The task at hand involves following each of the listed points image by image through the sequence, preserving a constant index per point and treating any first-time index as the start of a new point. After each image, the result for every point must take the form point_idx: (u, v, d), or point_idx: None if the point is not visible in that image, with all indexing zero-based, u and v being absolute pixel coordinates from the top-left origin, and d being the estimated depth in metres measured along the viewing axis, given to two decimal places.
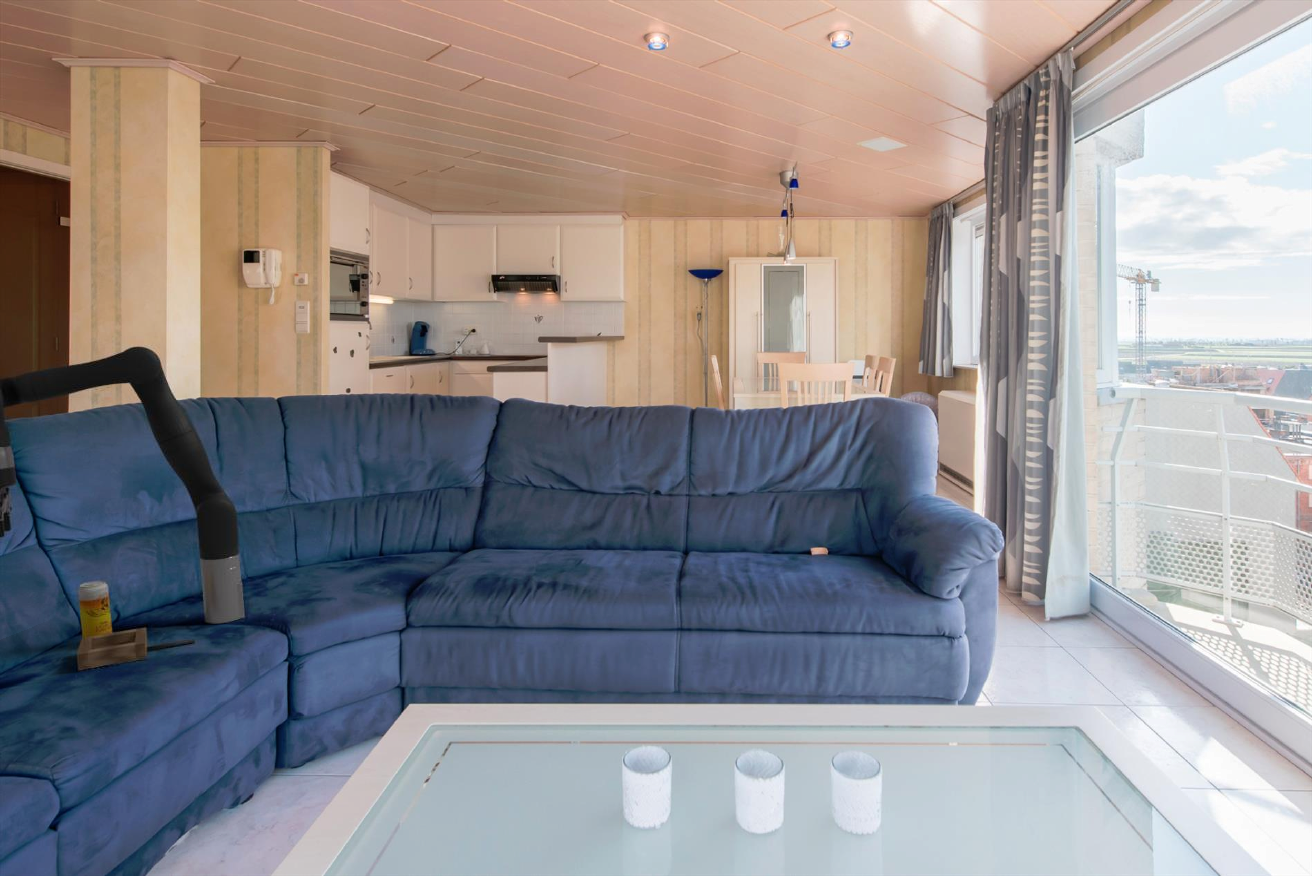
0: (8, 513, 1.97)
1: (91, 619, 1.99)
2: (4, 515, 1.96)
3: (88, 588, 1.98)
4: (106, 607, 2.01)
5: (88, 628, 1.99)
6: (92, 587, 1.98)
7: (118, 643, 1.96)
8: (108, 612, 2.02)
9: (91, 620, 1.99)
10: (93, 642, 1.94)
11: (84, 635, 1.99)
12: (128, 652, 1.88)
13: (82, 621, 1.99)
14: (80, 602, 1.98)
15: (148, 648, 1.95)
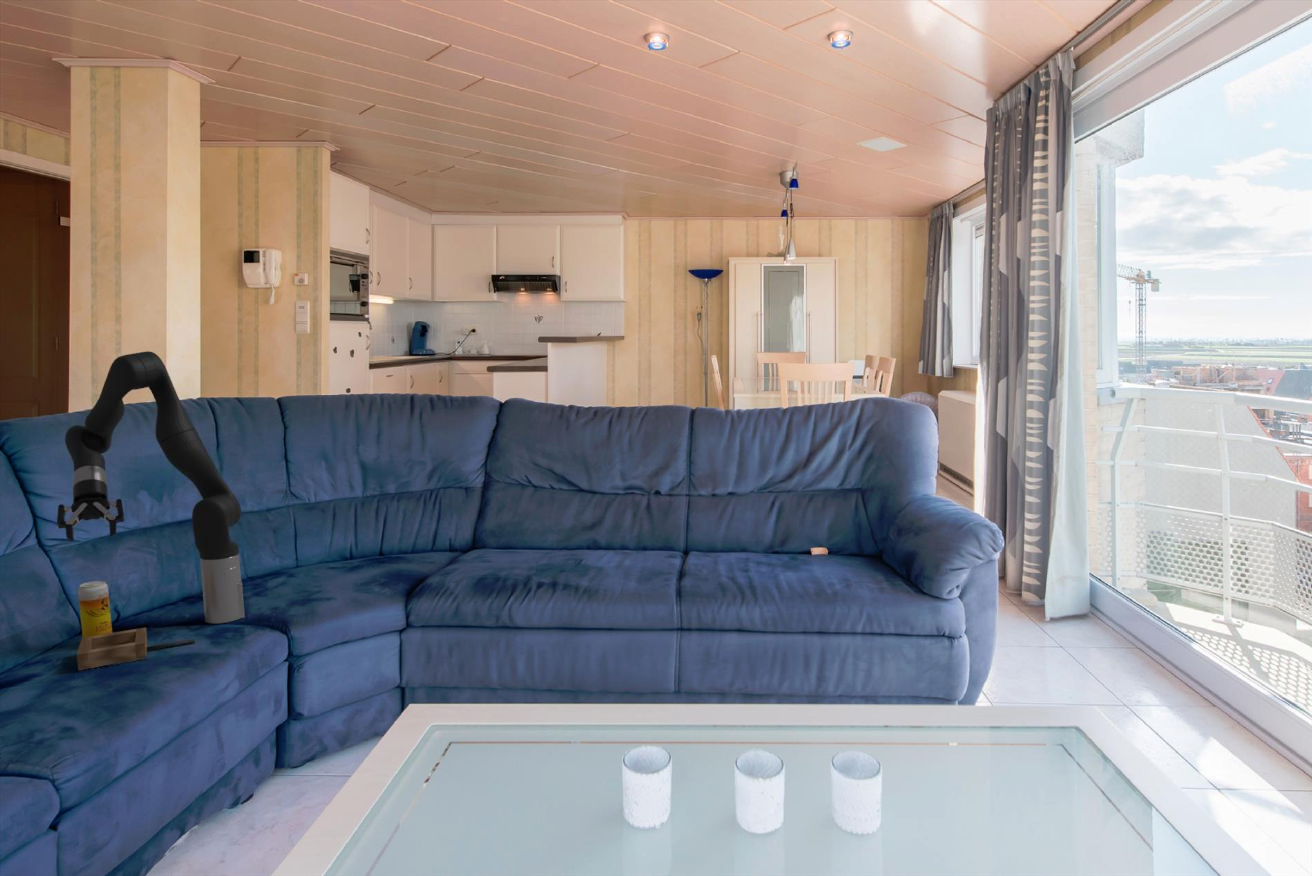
0: (110, 519, 2.13)
1: (91, 619, 1.99)
2: None
3: (88, 588, 1.98)
4: (106, 607, 2.01)
5: (88, 628, 1.99)
6: (92, 587, 1.98)
7: (118, 643, 1.96)
8: (108, 612, 2.02)
9: (91, 620, 1.99)
10: (93, 642, 1.94)
11: (84, 635, 1.99)
12: (128, 652, 1.88)
13: (82, 621, 1.99)
14: (80, 602, 1.98)
15: (148, 648, 1.95)
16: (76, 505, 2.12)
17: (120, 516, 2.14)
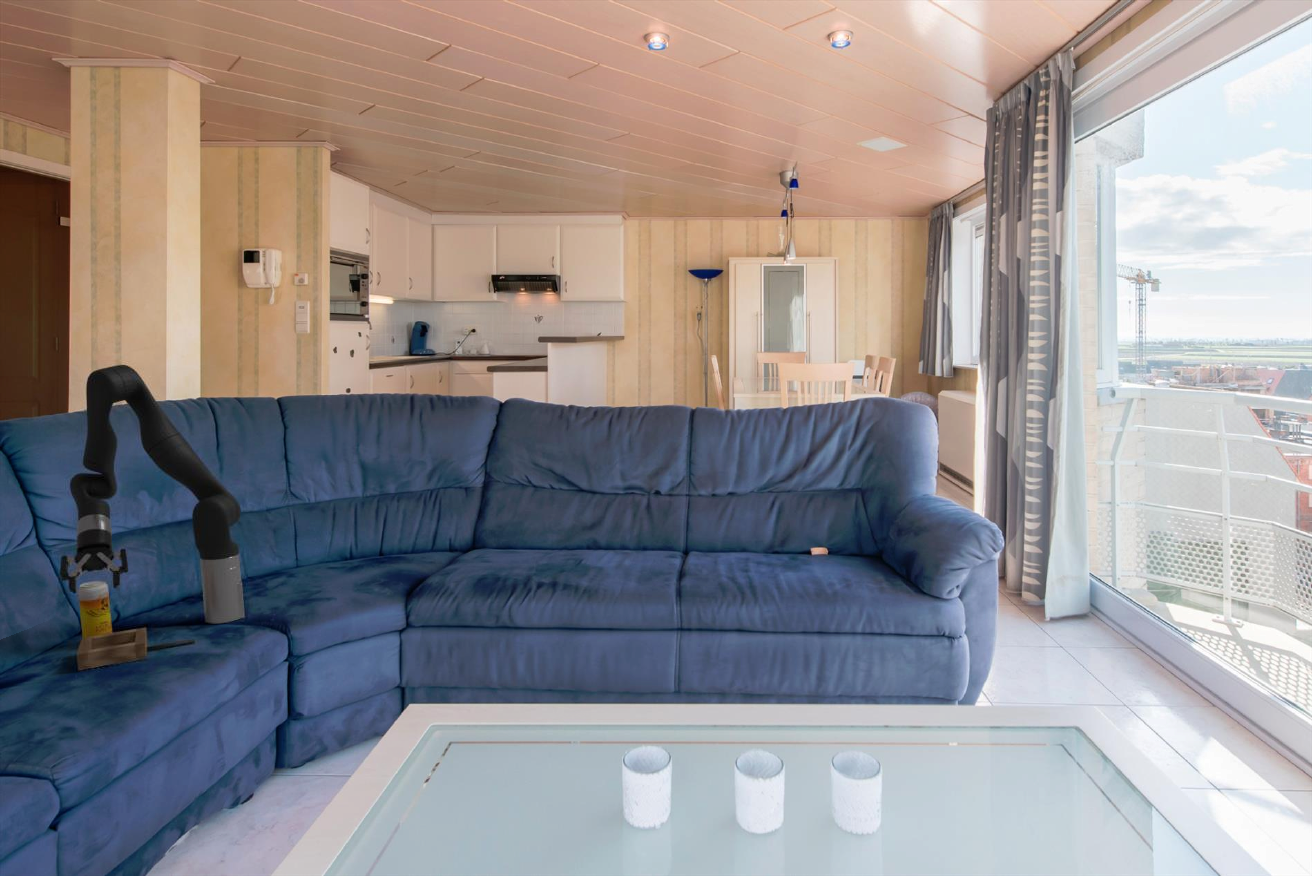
0: (114, 570, 2.09)
1: (91, 619, 1.99)
2: None
3: (88, 588, 1.98)
4: (106, 607, 2.01)
5: (88, 628, 1.99)
6: (92, 587, 1.98)
7: (118, 643, 1.96)
8: (108, 612, 2.02)
9: (91, 620, 1.99)
10: (93, 642, 1.94)
11: (84, 635, 1.99)
12: (128, 652, 1.88)
13: (82, 621, 1.99)
14: (80, 602, 1.98)
15: (148, 648, 1.95)
16: (79, 556, 2.08)
17: (124, 567, 2.10)
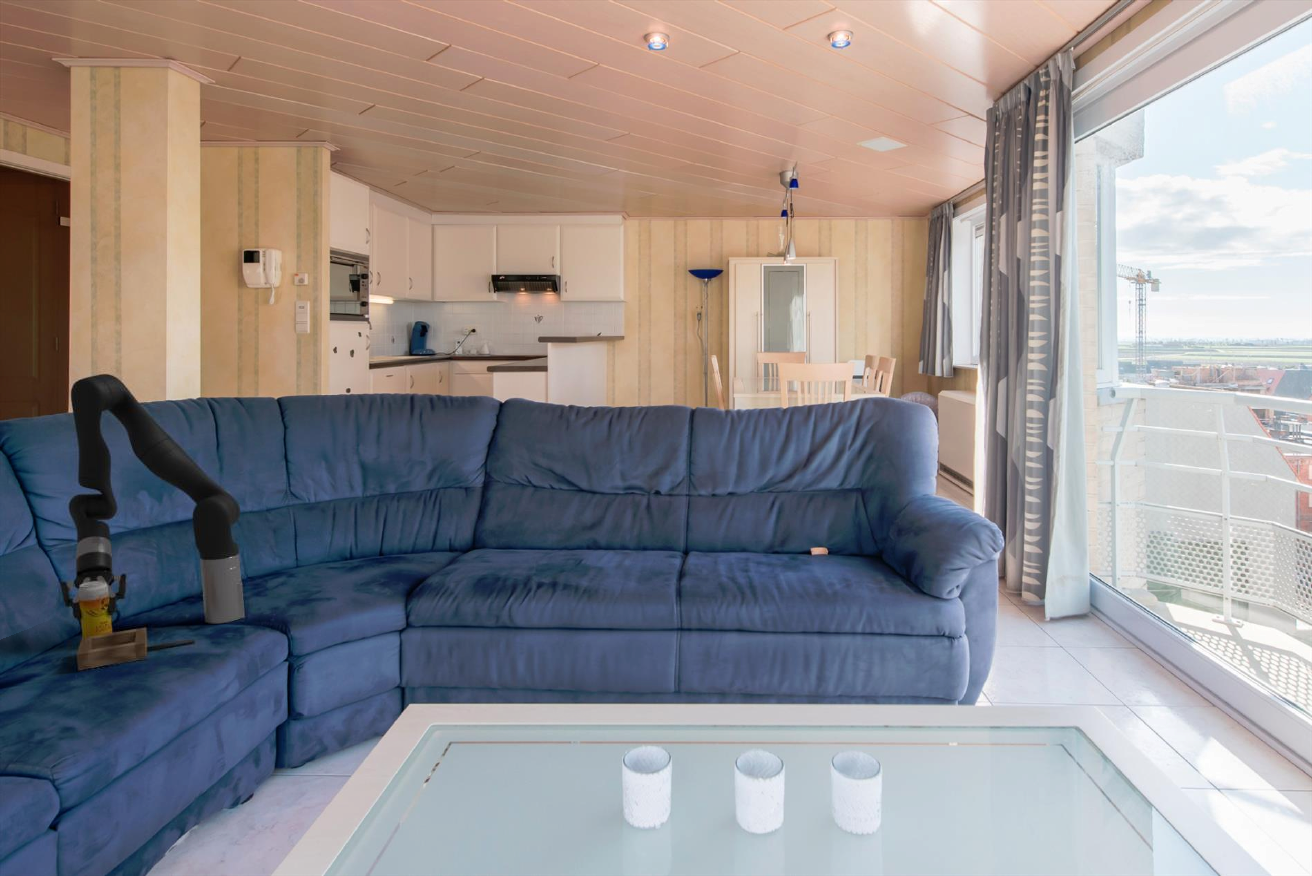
0: (110, 596, 2.03)
1: (91, 619, 1.99)
2: None
3: (88, 588, 1.98)
4: (106, 607, 2.01)
5: (88, 628, 1.99)
6: (92, 587, 1.98)
7: (118, 643, 1.96)
8: (108, 612, 2.02)
9: (91, 620, 1.99)
10: (93, 642, 1.94)
11: (84, 635, 1.99)
12: (128, 652, 1.88)
13: (82, 621, 1.99)
14: (80, 602, 1.98)
15: (148, 648, 1.95)
16: (79, 580, 2.03)
17: (120, 593, 2.04)
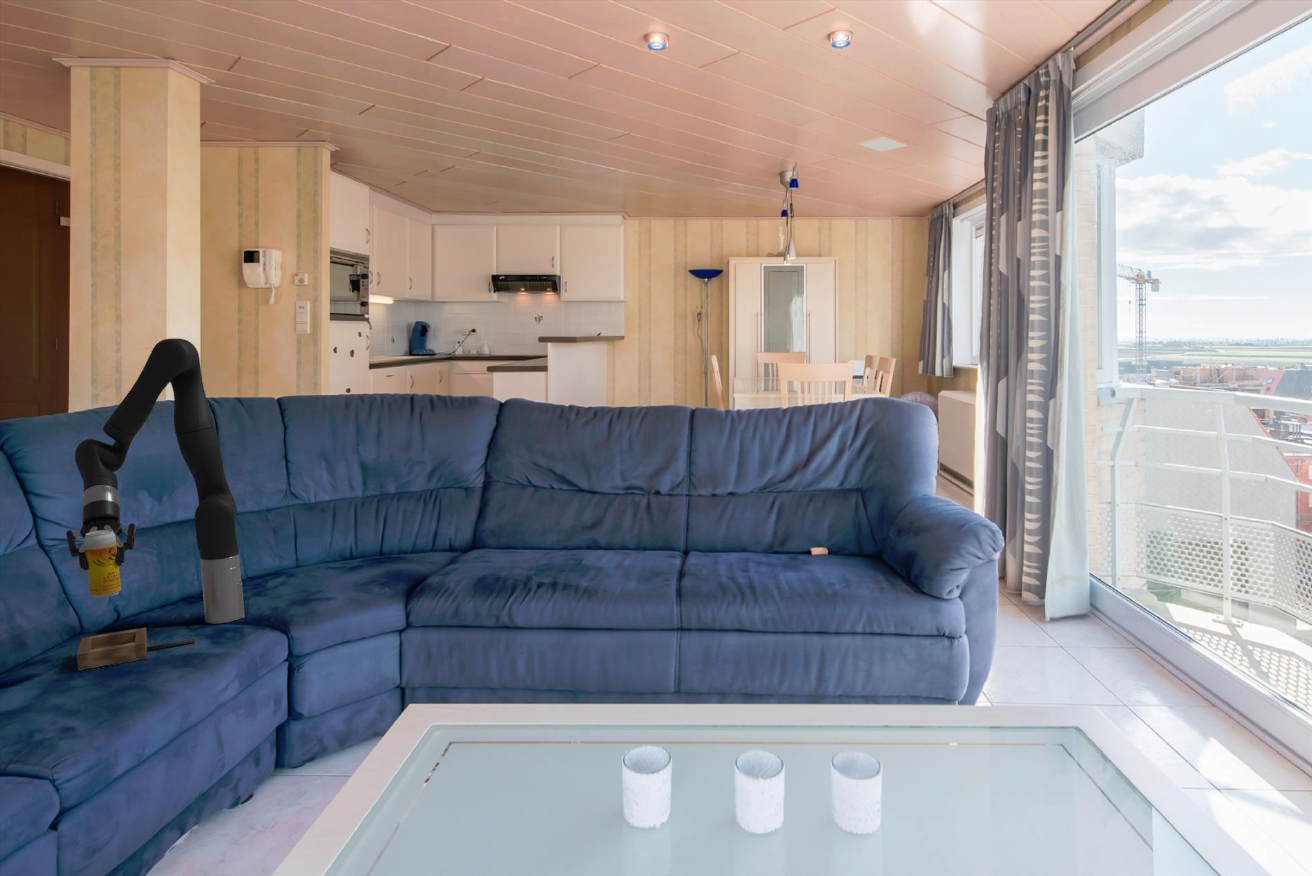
0: (117, 546, 1.93)
1: (98, 569, 1.89)
2: None
3: (94, 536, 1.88)
4: (114, 557, 1.91)
5: (95, 579, 1.89)
6: (99, 535, 1.89)
7: (118, 643, 1.96)
8: (116, 562, 1.92)
9: (98, 570, 1.89)
10: (93, 642, 1.94)
11: (91, 586, 1.89)
12: (128, 652, 1.88)
13: (89, 571, 1.89)
14: (87, 551, 1.89)
15: (148, 648, 1.95)
16: (85, 529, 1.93)
17: (128, 543, 1.95)
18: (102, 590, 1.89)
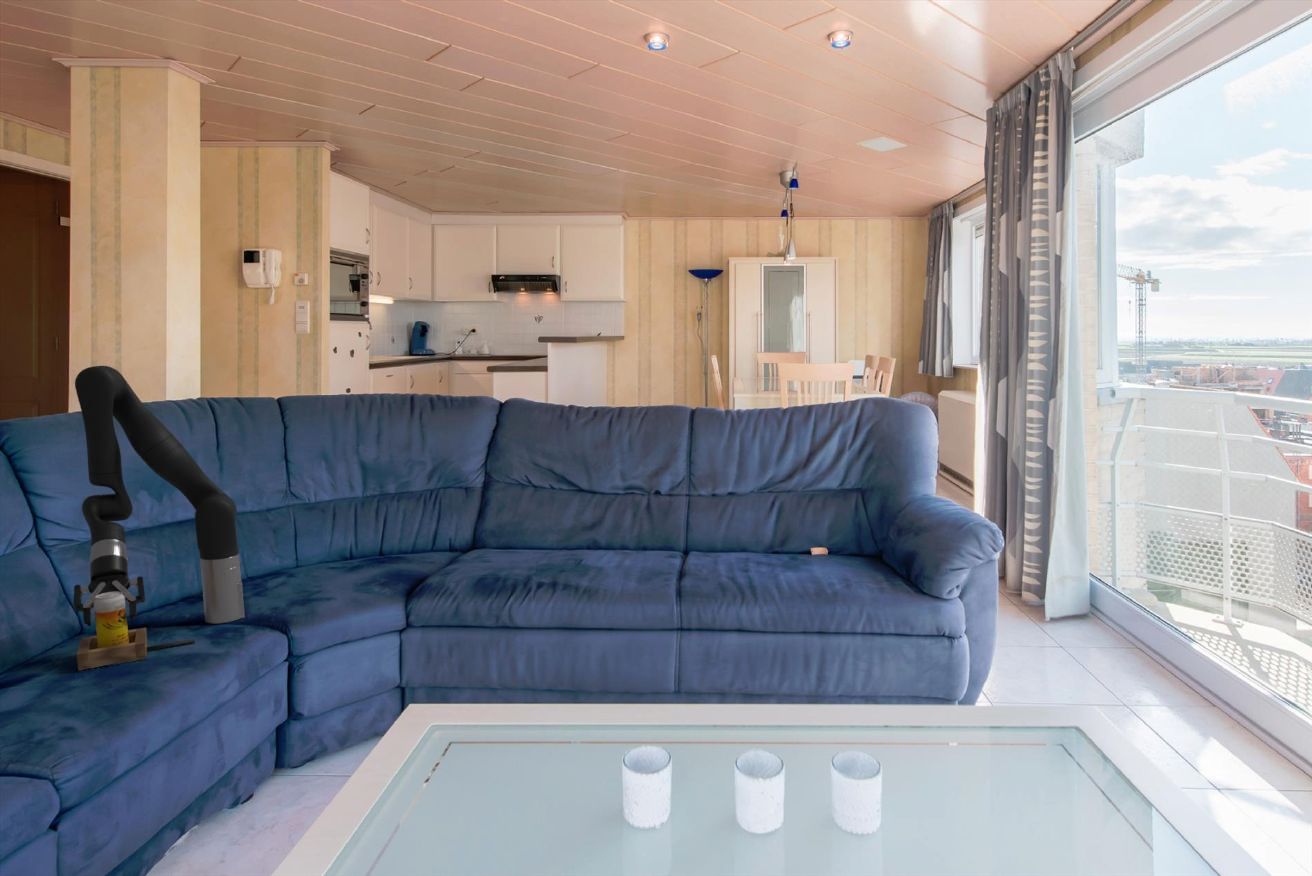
0: (130, 600, 1.94)
1: (108, 632, 1.89)
2: None
3: (104, 599, 1.88)
4: (123, 619, 1.91)
5: (104, 642, 1.89)
6: (108, 598, 1.89)
7: None
8: (125, 624, 1.92)
9: (107, 633, 1.89)
10: (93, 642, 1.94)
11: None
12: (128, 652, 1.88)
13: (98, 634, 1.89)
14: (96, 614, 1.88)
15: (148, 648, 1.95)
16: (93, 585, 1.93)
17: (141, 596, 1.95)
18: None
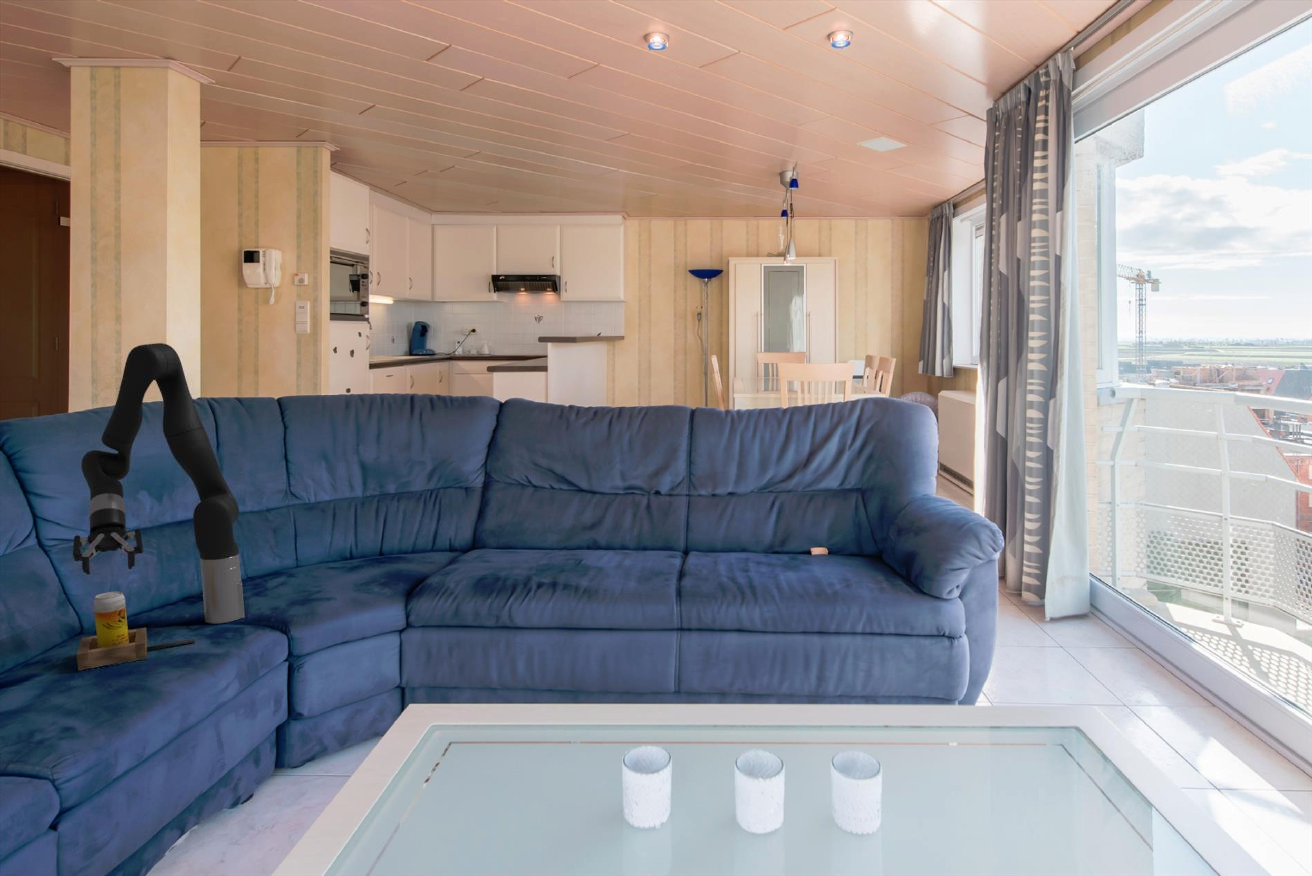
0: (128, 550, 2.01)
1: (108, 632, 1.89)
2: None
3: (104, 599, 1.88)
4: (123, 619, 1.91)
5: (104, 642, 1.89)
6: (108, 598, 1.89)
7: None
8: (125, 624, 1.92)
9: (107, 633, 1.89)
10: (93, 642, 1.94)
11: None
12: (128, 652, 1.88)
13: (98, 634, 1.89)
14: (96, 614, 1.88)
15: (148, 648, 1.95)
16: (93, 536, 2.00)
17: (139, 547, 2.02)
18: None
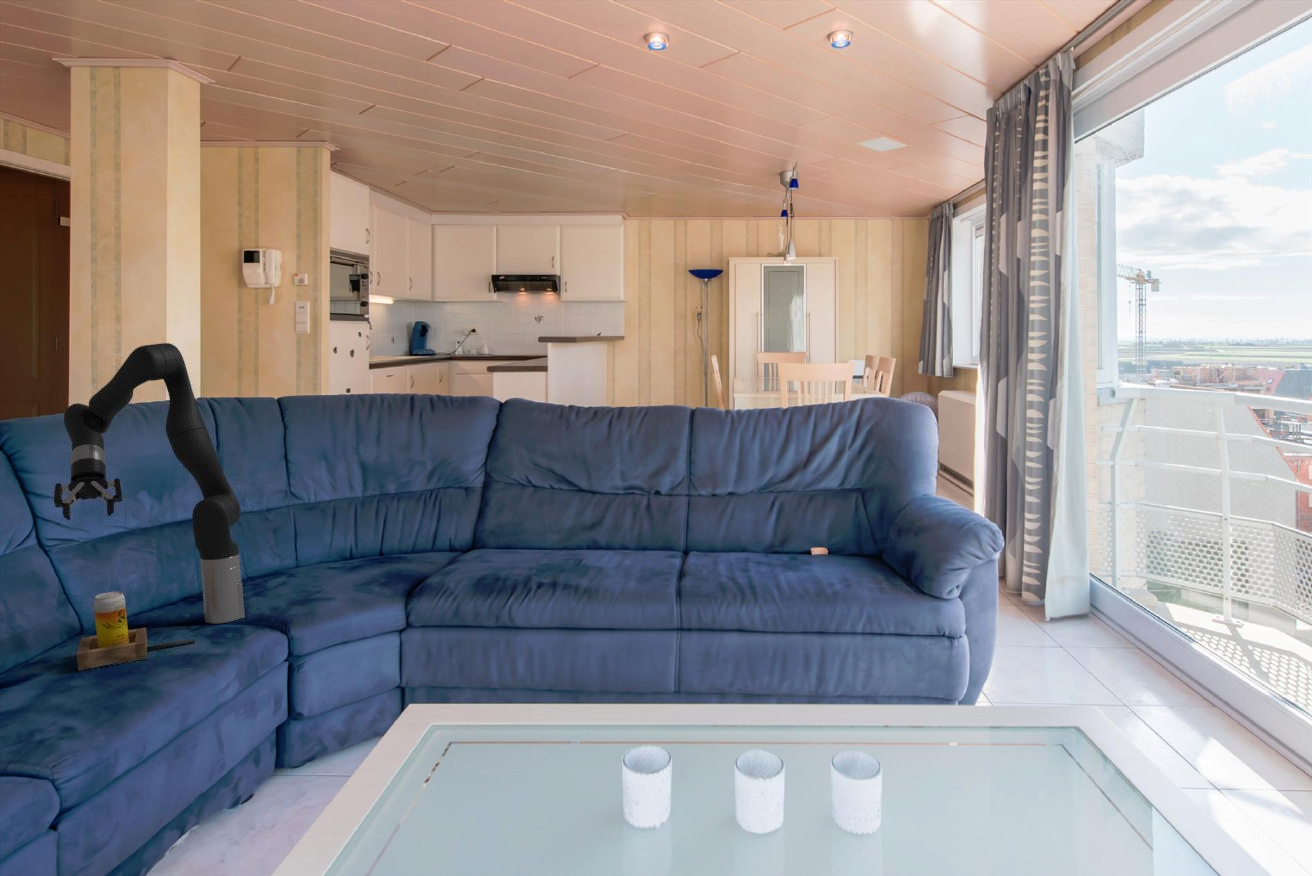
0: (108, 498, 2.09)
1: (108, 632, 1.89)
2: None
3: (104, 599, 1.88)
4: (123, 619, 1.91)
5: (104, 642, 1.89)
6: (108, 598, 1.89)
7: None
8: (125, 624, 1.92)
9: (107, 633, 1.89)
10: (93, 642, 1.94)
11: None
12: (128, 652, 1.88)
13: (98, 634, 1.89)
14: (96, 614, 1.88)
15: (148, 648, 1.95)
16: (73, 484, 2.08)
17: (118, 495, 2.10)
18: None
